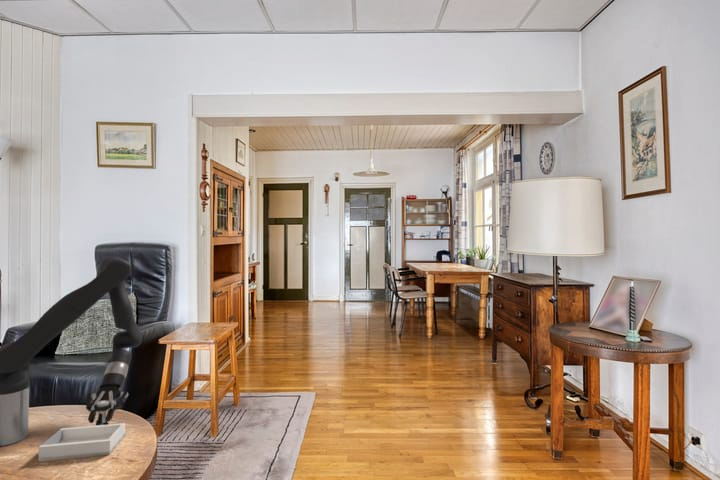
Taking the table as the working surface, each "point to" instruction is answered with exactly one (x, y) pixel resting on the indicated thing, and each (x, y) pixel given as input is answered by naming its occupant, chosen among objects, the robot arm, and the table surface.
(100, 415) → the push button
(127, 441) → the table surface
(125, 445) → the table surface
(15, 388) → the robot arm
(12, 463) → the table surface
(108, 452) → the tray
